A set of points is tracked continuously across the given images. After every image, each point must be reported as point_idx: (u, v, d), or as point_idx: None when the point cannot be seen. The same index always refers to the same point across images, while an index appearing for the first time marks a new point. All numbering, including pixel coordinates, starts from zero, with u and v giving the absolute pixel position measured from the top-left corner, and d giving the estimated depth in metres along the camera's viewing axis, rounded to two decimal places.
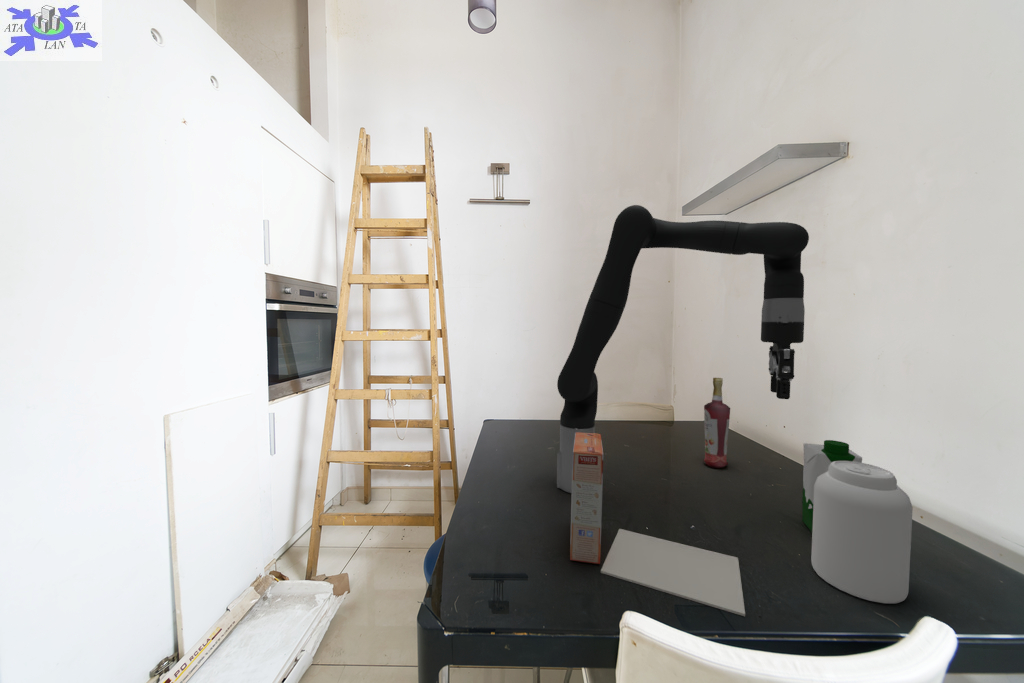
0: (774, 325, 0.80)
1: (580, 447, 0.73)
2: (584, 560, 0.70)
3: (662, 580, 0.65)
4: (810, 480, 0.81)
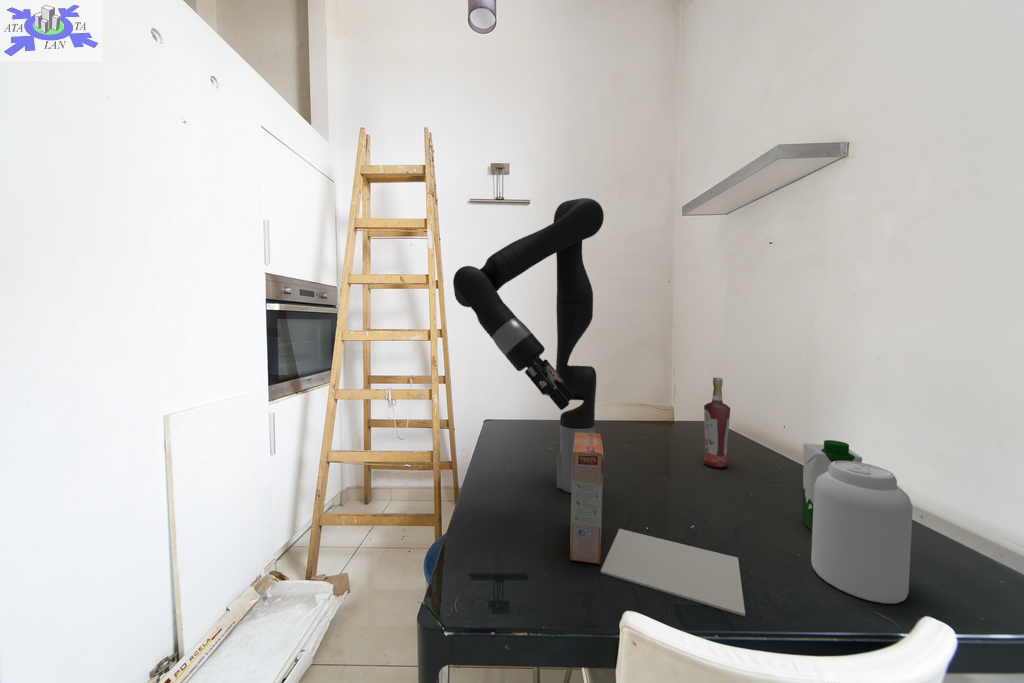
0: None
1: (580, 447, 0.73)
2: (584, 560, 0.70)
3: (662, 580, 0.65)
4: (810, 480, 0.81)
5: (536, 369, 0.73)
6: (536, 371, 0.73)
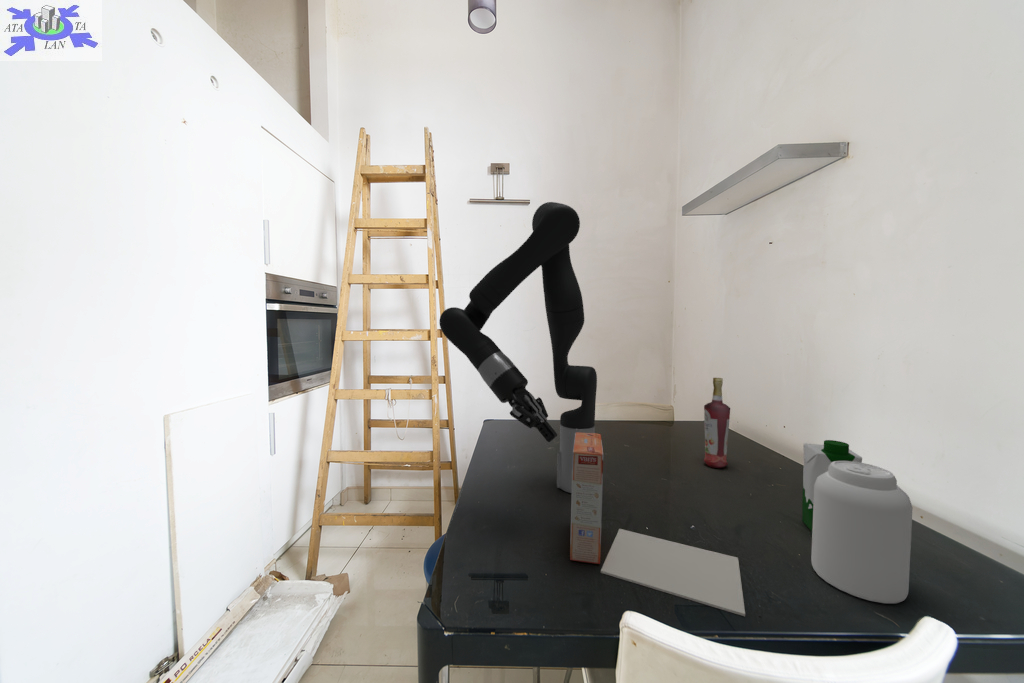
0: None
1: (580, 447, 0.73)
2: (584, 560, 0.70)
3: (662, 580, 0.65)
4: (810, 480, 0.81)
5: (521, 411, 0.77)
6: (521, 412, 0.77)
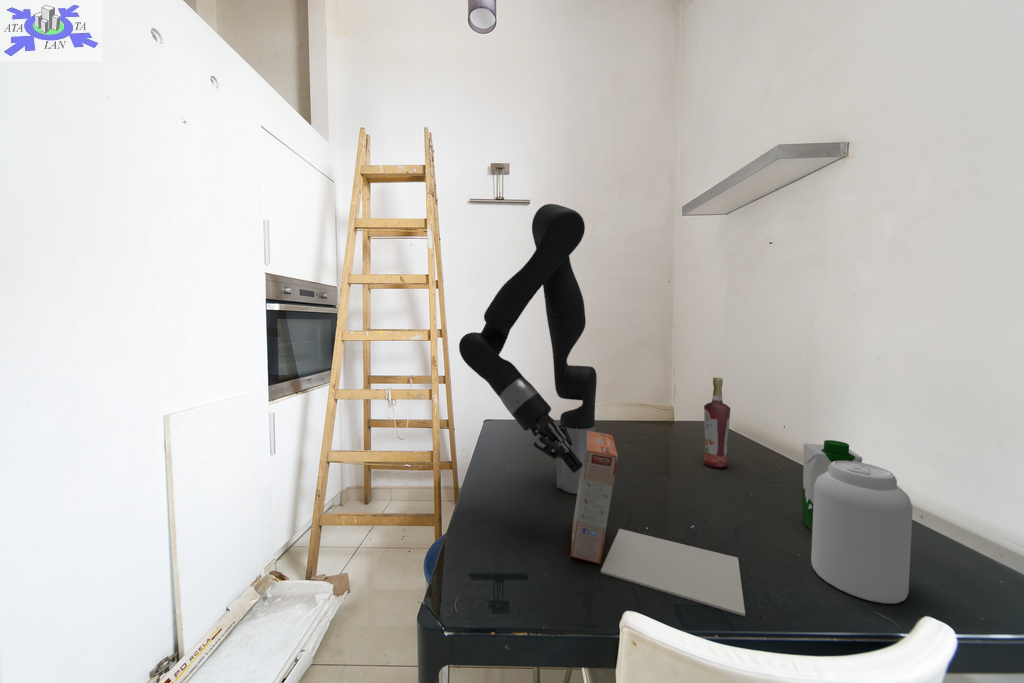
0: None
1: (594, 446, 0.72)
2: (585, 558, 0.70)
3: (662, 580, 0.65)
4: (810, 480, 0.81)
5: (545, 442, 0.75)
6: (546, 444, 0.75)
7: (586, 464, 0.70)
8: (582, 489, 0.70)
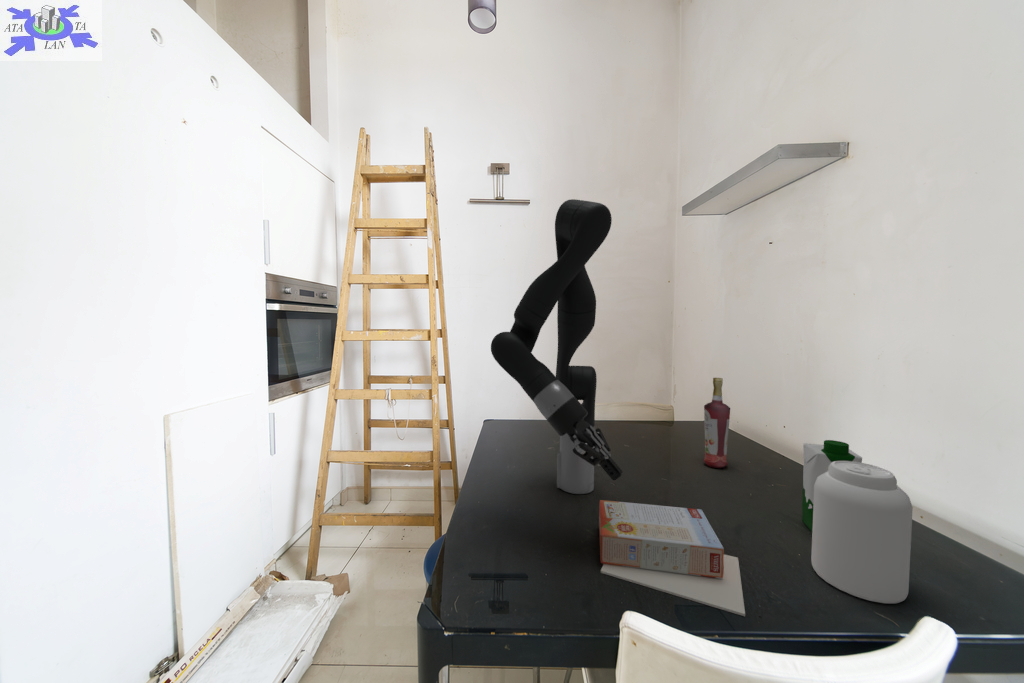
0: None
1: None
2: (603, 548, 0.70)
3: (662, 580, 0.65)
4: (810, 480, 0.81)
5: (586, 449, 0.71)
6: (586, 450, 0.71)
7: (706, 547, 0.66)
8: (677, 544, 0.67)
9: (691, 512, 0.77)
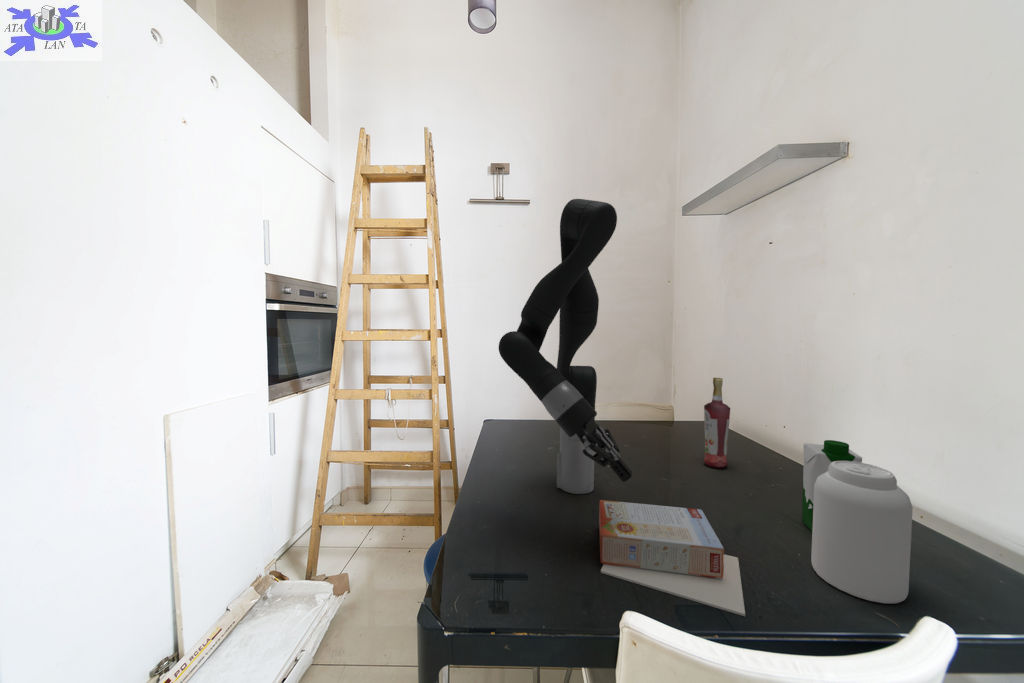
0: None
1: None
2: (603, 548, 0.70)
3: (662, 580, 0.65)
4: (810, 480, 0.81)
5: (596, 450, 0.70)
6: (596, 451, 0.70)
7: (706, 547, 0.66)
8: (677, 544, 0.67)
9: (691, 512, 0.77)
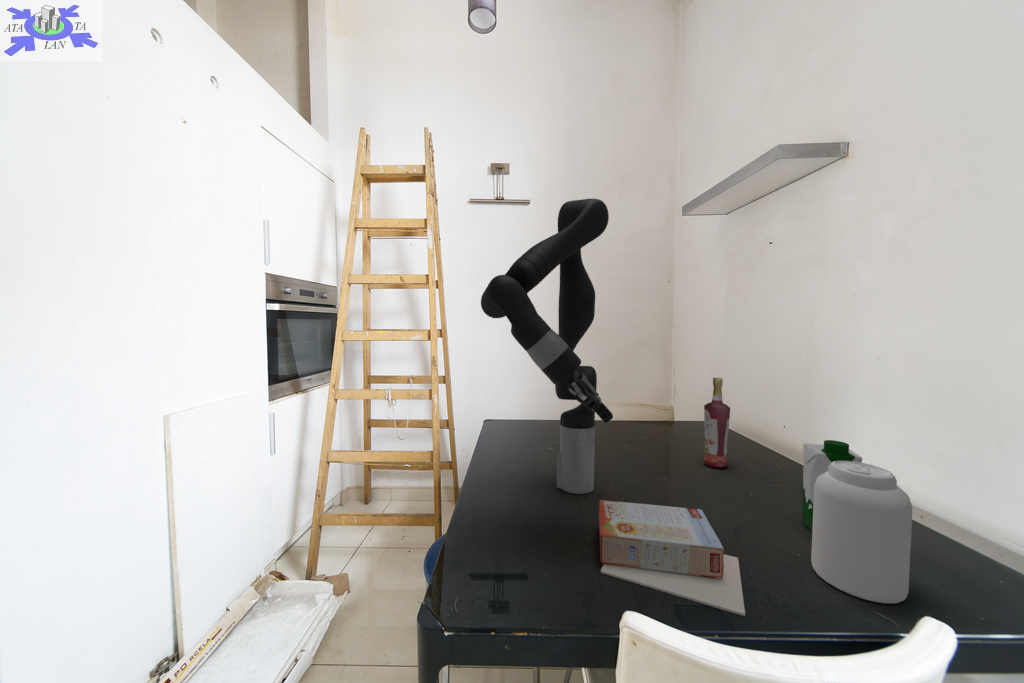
0: None
1: None
2: (603, 548, 0.70)
3: (662, 580, 0.65)
4: (810, 480, 0.81)
5: (588, 395, 0.73)
6: (587, 396, 0.73)
7: (706, 547, 0.66)
8: (677, 544, 0.67)
9: (691, 512, 0.77)
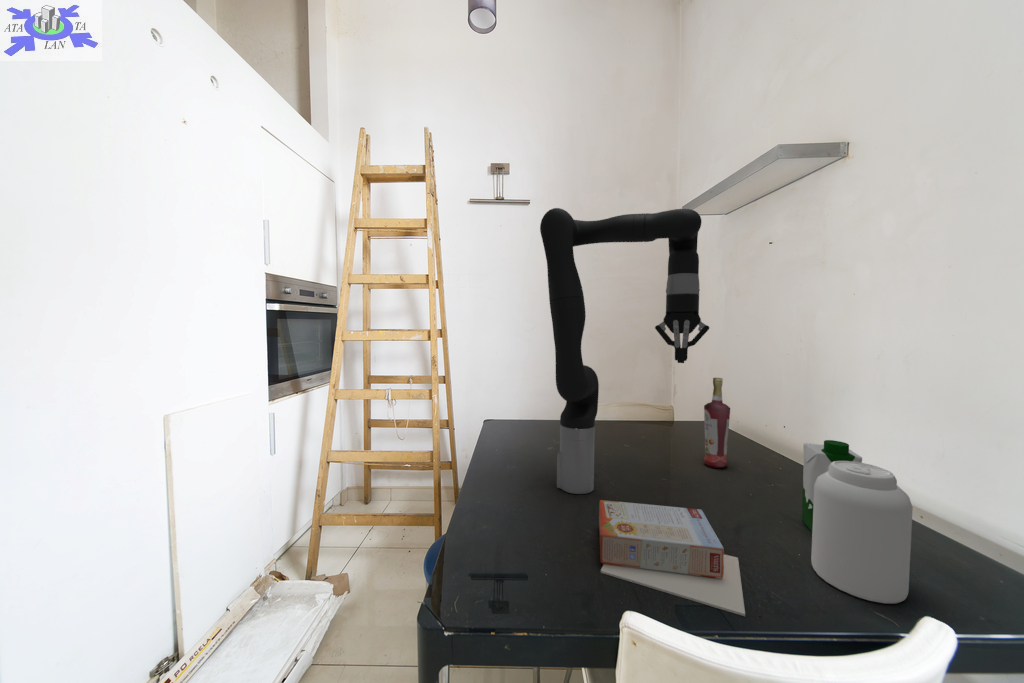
0: None
1: None
2: (603, 548, 0.70)
3: (662, 580, 0.65)
4: (810, 480, 0.81)
5: None
6: None
7: (706, 547, 0.66)
8: (677, 544, 0.67)
9: (691, 512, 0.77)
